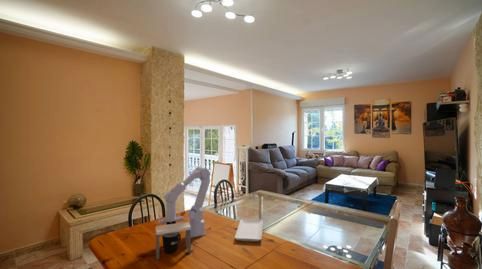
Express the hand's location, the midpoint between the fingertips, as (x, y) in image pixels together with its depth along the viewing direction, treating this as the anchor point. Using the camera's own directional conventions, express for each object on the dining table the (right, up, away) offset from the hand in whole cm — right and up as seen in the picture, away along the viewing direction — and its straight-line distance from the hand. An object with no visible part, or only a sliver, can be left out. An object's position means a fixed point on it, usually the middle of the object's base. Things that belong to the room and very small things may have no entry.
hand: (171, 233), depth 139 cm
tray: (+49, -6, +14) cm, 51 cm away
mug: (+4, -6, -9) cm, 11 cm away
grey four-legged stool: (+5, -5, -12) cm, 14 cm away
